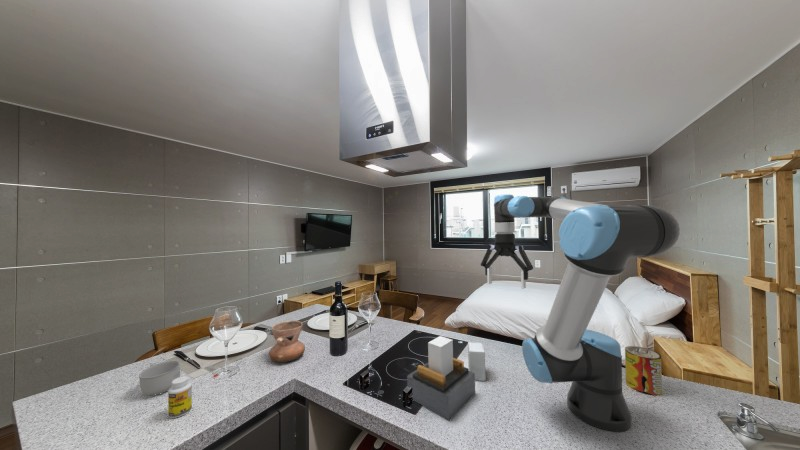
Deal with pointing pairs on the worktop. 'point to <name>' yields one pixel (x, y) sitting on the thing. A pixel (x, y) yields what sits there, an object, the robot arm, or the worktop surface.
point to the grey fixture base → (442, 388)
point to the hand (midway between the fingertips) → (506, 285)
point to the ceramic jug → (287, 341)
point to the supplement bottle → (179, 397)
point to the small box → (477, 360)
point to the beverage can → (643, 370)
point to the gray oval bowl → (159, 377)
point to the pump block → (441, 355)
